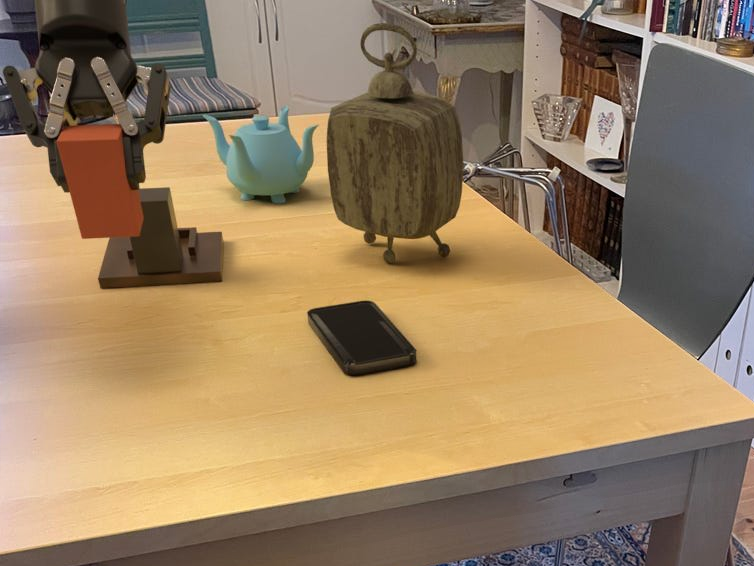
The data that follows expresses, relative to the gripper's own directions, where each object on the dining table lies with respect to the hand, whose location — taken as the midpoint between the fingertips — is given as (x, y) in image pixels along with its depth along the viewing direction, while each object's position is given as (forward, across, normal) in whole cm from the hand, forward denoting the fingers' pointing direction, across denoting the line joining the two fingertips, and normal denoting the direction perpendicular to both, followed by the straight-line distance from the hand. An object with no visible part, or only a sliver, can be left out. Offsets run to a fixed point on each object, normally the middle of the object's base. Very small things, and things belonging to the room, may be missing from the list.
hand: (100, 185), depth 82 cm
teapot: (-27, +14, +52) cm, 60 cm away
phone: (+10, +22, +16) cm, 29 cm away
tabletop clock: (-7, +29, +32) cm, 44 cm away
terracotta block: (+2, 0, +4) cm, 5 cm away
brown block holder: (-9, 0, +34) cm, 35 cm away
